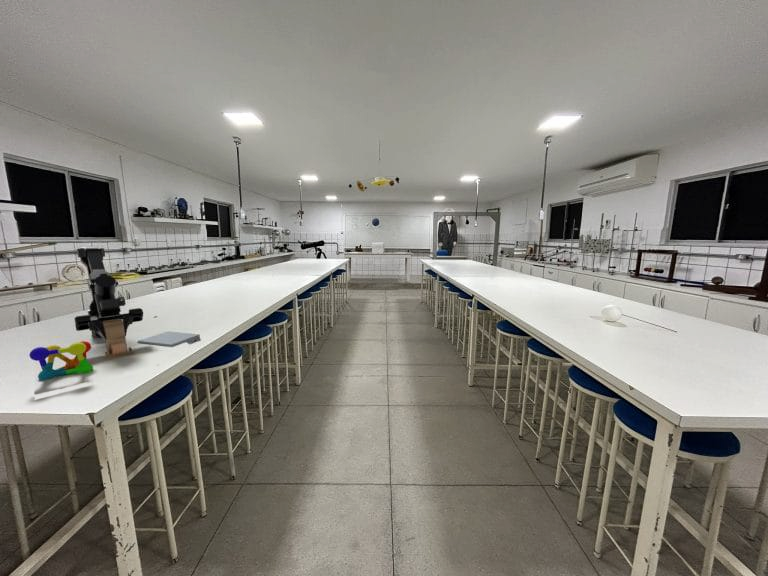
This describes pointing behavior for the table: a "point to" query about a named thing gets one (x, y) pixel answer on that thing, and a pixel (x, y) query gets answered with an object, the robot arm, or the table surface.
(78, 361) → the molecular model
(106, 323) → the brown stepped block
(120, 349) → the block
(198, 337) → the plate
